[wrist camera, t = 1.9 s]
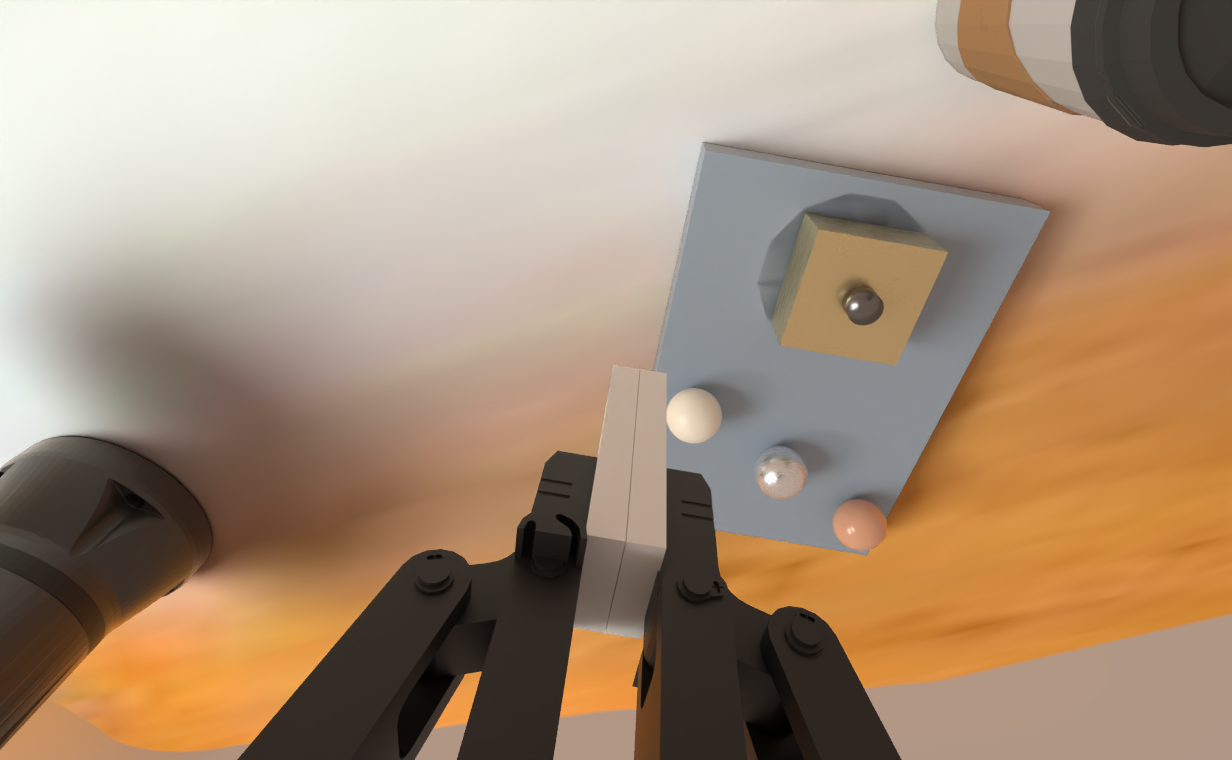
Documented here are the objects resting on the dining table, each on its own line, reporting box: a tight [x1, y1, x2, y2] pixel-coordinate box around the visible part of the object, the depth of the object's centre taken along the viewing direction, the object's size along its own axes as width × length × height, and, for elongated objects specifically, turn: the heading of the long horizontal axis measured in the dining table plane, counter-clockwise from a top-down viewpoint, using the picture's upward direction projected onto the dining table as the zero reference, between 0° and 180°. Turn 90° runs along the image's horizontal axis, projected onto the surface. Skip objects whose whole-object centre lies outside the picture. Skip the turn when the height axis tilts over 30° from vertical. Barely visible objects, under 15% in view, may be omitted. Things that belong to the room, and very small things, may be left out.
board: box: [653, 142, 1051, 555], centre depth 35 cm, size 17×24×2 cm
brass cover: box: [771, 212, 948, 366], centre depth 29 cm, size 6×6×4 cm
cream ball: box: [667, 388, 722, 443], centre depth 34 cm, size 3×3×3 cm
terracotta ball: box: [832, 499, 887, 551], centre depth 37 cm, size 3×3×3 cm
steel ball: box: [753, 446, 808, 499], centre depth 36 cm, size 3×3×3 cm
